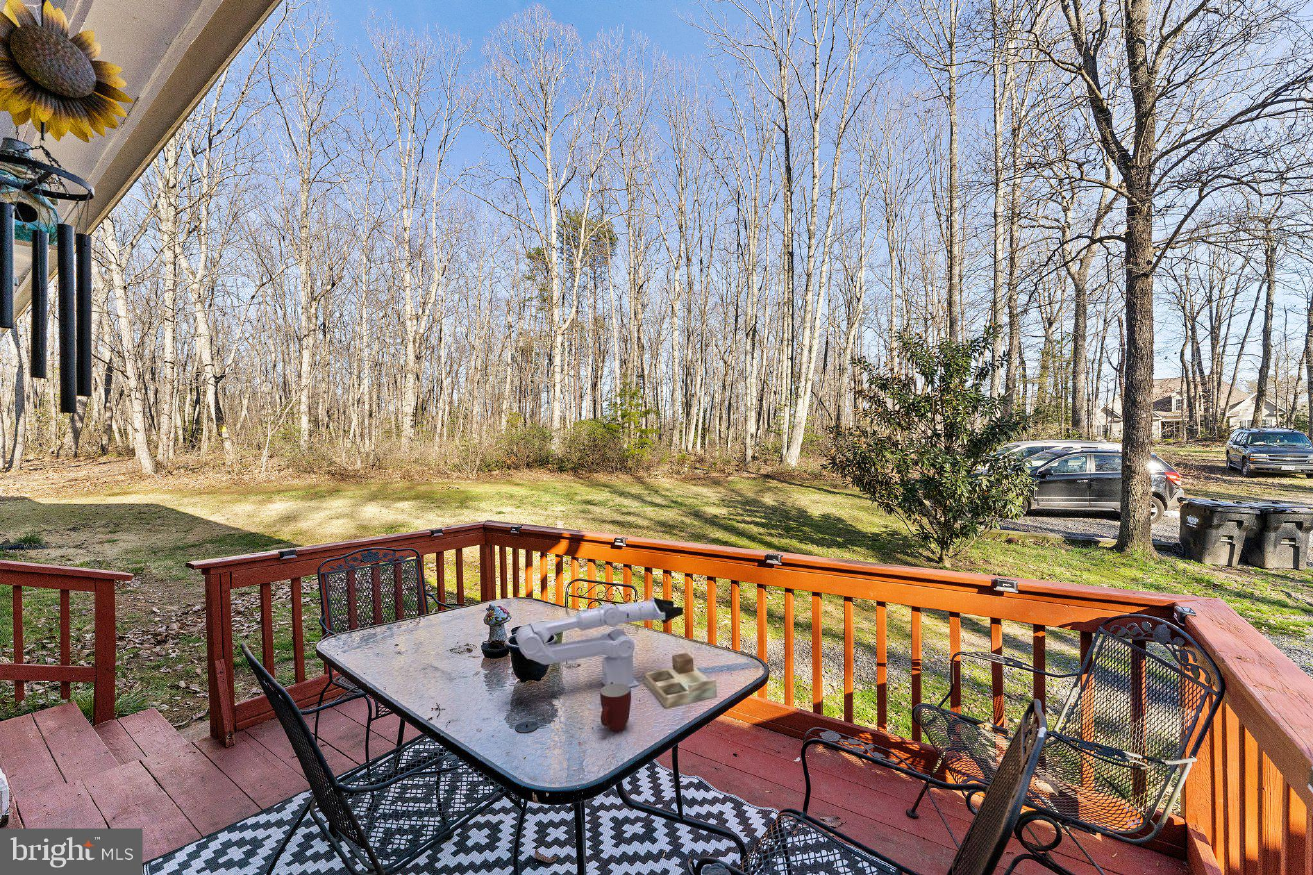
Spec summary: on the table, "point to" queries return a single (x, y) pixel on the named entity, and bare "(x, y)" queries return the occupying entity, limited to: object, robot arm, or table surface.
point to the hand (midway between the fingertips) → (677, 607)
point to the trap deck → (679, 687)
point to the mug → (615, 706)
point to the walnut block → (682, 663)
